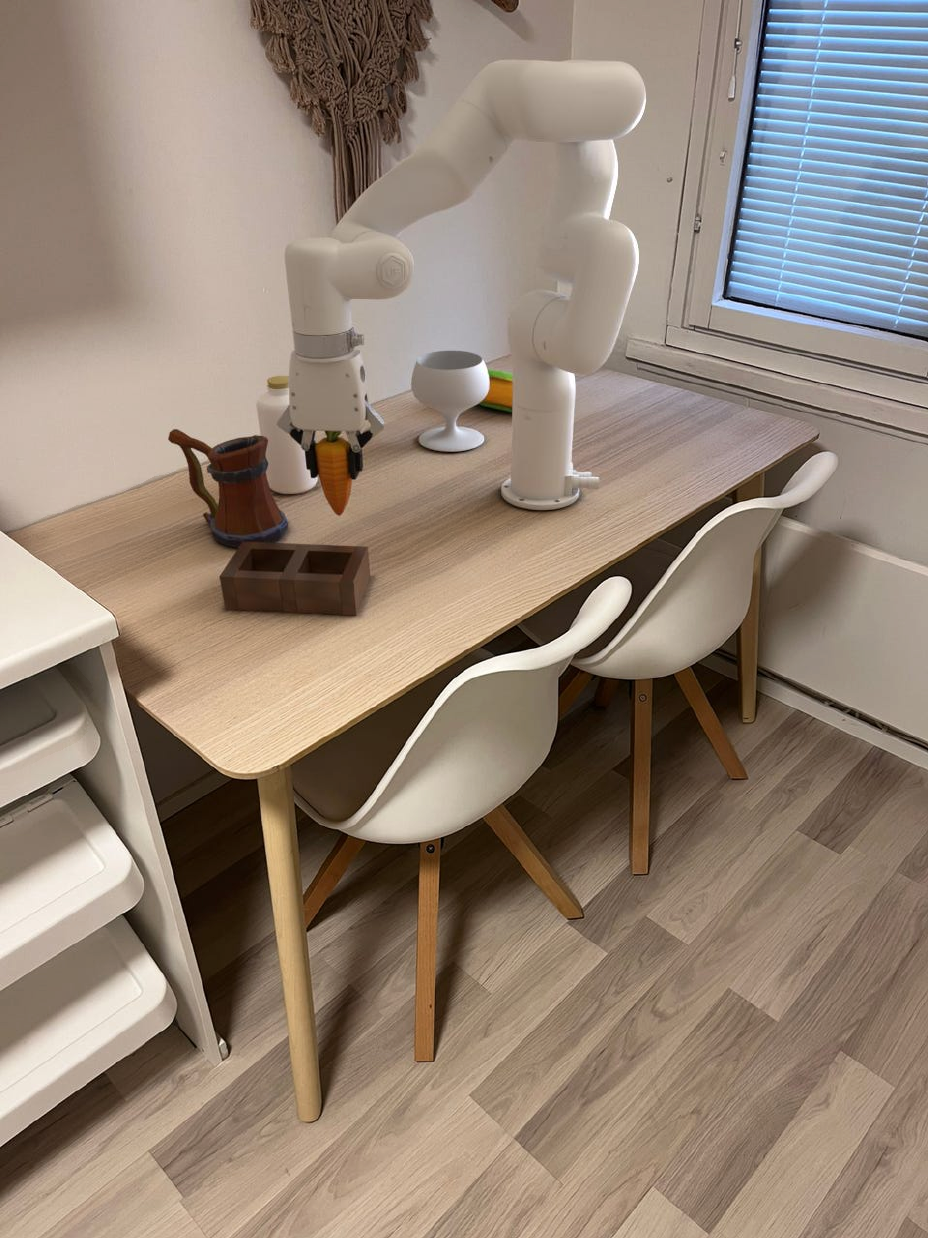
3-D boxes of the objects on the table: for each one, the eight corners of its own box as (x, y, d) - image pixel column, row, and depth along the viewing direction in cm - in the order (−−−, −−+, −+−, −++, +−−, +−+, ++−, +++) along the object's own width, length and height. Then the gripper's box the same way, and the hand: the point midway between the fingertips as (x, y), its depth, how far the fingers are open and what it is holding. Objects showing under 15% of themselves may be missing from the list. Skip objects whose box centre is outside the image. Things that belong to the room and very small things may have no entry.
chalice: (487, 426, 172) (487, 347, 164) (491, 454, 160) (492, 371, 152) (414, 428, 172) (410, 349, 164) (412, 456, 160) (409, 372, 152)
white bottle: (308, 498, 146) (295, 389, 136) (260, 494, 147) (244, 386, 137) (325, 477, 153) (314, 372, 143) (278, 474, 154) (265, 370, 144)
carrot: (322, 508, 130) (312, 408, 122) (357, 507, 130) (349, 406, 122) (320, 523, 126) (310, 420, 118) (356, 522, 126) (348, 419, 118)
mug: (162, 532, 136) (141, 438, 128) (212, 502, 145) (196, 412, 137) (257, 557, 129) (242, 459, 121) (304, 524, 138) (293, 431, 130)
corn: (474, 357, 183) (560, 374, 174) (475, 393, 188) (559, 411, 178) (453, 369, 178) (540, 387, 169) (455, 406, 183) (540, 425, 173)
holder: (370, 578, 124) (368, 546, 121) (356, 615, 116) (353, 582, 113) (247, 573, 125) (242, 541, 123) (225, 609, 117) (219, 576, 115)
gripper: (394, 336, 117) (400, 466, 127) (267, 333, 119) (283, 462, 129) (384, 352, 111) (391, 488, 121) (250, 349, 113) (268, 484, 122)
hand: (335, 473), depth 125 cm, fingers closed on carrot, 4 cm apart
